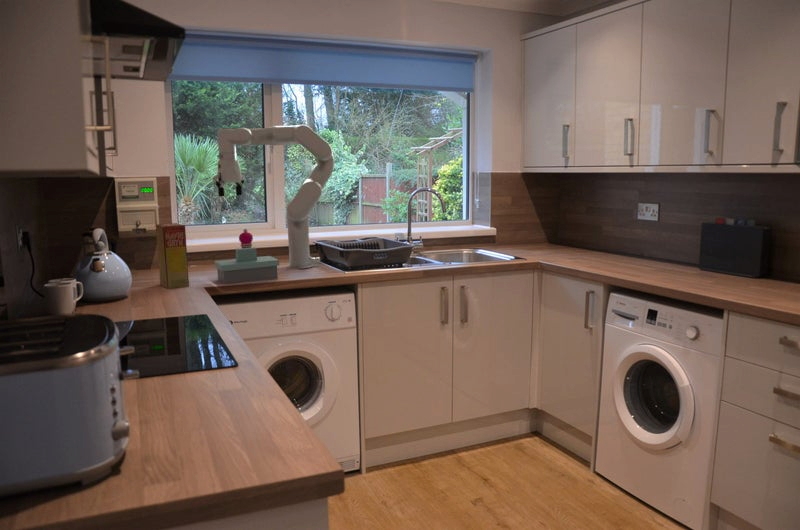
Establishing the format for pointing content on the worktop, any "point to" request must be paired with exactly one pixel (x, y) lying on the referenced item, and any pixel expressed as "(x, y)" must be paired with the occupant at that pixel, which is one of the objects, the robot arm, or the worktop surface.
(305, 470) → the worktop surface
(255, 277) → the tub
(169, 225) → the food packaging
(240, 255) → the lid
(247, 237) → the pepper mill
